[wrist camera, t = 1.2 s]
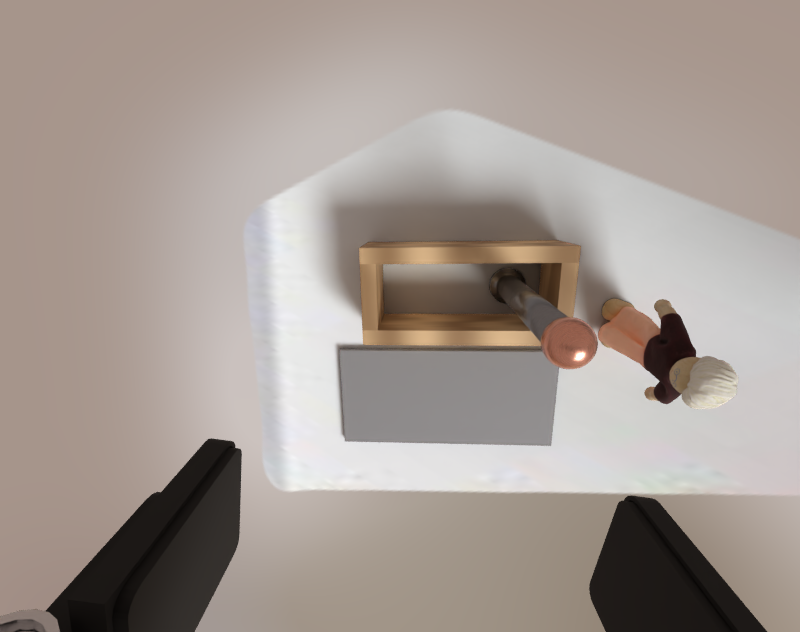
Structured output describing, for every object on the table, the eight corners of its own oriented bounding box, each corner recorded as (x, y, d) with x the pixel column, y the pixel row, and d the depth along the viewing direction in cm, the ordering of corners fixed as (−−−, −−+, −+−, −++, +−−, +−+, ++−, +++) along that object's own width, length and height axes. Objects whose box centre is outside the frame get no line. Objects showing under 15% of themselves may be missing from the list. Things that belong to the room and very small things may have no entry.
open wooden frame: (557, 240, 32) (580, 245, 28) (549, 326, 34) (569, 346, 30) (368, 242, 33) (359, 248, 29) (371, 326, 35) (363, 344, 31)
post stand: (525, 267, 33) (615, 321, 18) (522, 301, 34) (607, 382, 18) (490, 268, 33) (548, 321, 18) (488, 301, 34) (543, 381, 19)
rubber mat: (558, 350, 35) (560, 352, 35) (549, 442, 38) (550, 445, 37) (340, 348, 36) (339, 350, 36) (345, 438, 39) (344, 441, 38)
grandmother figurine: (588, 292, 33) (682, 341, 21) (634, 282, 33) (757, 326, 21) (599, 372, 35) (691, 459, 23) (642, 363, 35) (760, 447, 23)
